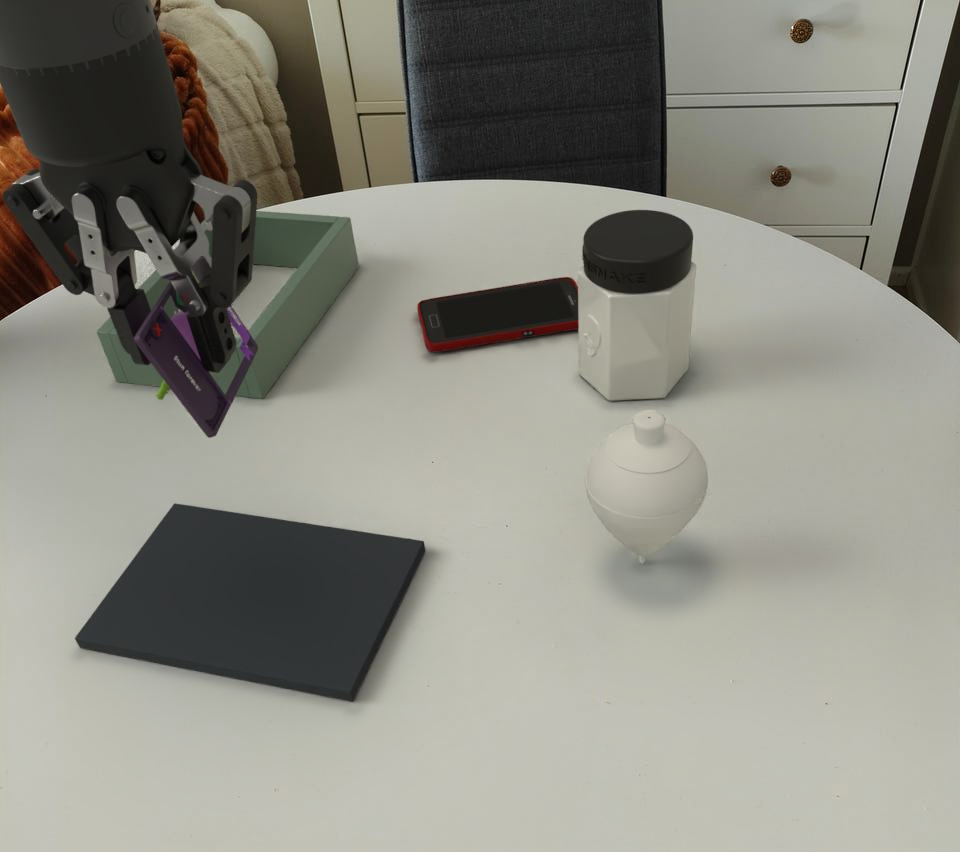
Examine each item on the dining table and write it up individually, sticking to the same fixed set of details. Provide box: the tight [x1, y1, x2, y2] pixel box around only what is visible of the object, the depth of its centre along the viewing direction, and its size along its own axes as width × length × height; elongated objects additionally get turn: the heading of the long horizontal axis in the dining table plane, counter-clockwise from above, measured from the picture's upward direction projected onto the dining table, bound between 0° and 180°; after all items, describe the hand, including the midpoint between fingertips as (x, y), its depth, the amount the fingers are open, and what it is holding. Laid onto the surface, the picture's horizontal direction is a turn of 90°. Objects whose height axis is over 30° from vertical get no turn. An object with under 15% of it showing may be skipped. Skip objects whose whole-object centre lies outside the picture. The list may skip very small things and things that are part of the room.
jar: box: [577, 209, 697, 402], centre depth 81 cm, size 9×8×12 cm
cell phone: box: [416, 276, 579, 353], centre depth 92 cm, size 8×15×1 cm, turn 100°
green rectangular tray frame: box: [95, 210, 360, 400], centre depth 94 cm, size 14×22×5 cm, turn 163°
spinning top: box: [584, 409, 709, 565], centre depth 66 cm, size 8×8×12 cm
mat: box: [74, 502, 426, 702], centre depth 71 cm, size 20×14×1 cm
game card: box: [134, 271, 258, 439], centre depth 58 cm, size 7×5×9 cm
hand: (183, 359), depth 59 cm, fingers closed on game card, 4 cm apart
